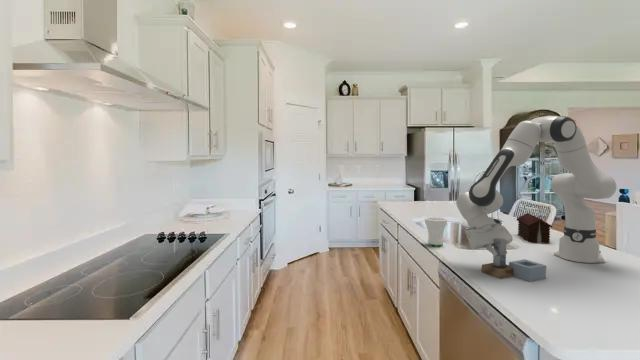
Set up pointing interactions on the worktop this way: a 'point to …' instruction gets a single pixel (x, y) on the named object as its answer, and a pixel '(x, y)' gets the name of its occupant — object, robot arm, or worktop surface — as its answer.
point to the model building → (533, 229)
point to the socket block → (498, 271)
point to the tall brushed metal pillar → (500, 253)
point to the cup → (435, 230)
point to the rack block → (528, 270)
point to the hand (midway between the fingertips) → (501, 254)
